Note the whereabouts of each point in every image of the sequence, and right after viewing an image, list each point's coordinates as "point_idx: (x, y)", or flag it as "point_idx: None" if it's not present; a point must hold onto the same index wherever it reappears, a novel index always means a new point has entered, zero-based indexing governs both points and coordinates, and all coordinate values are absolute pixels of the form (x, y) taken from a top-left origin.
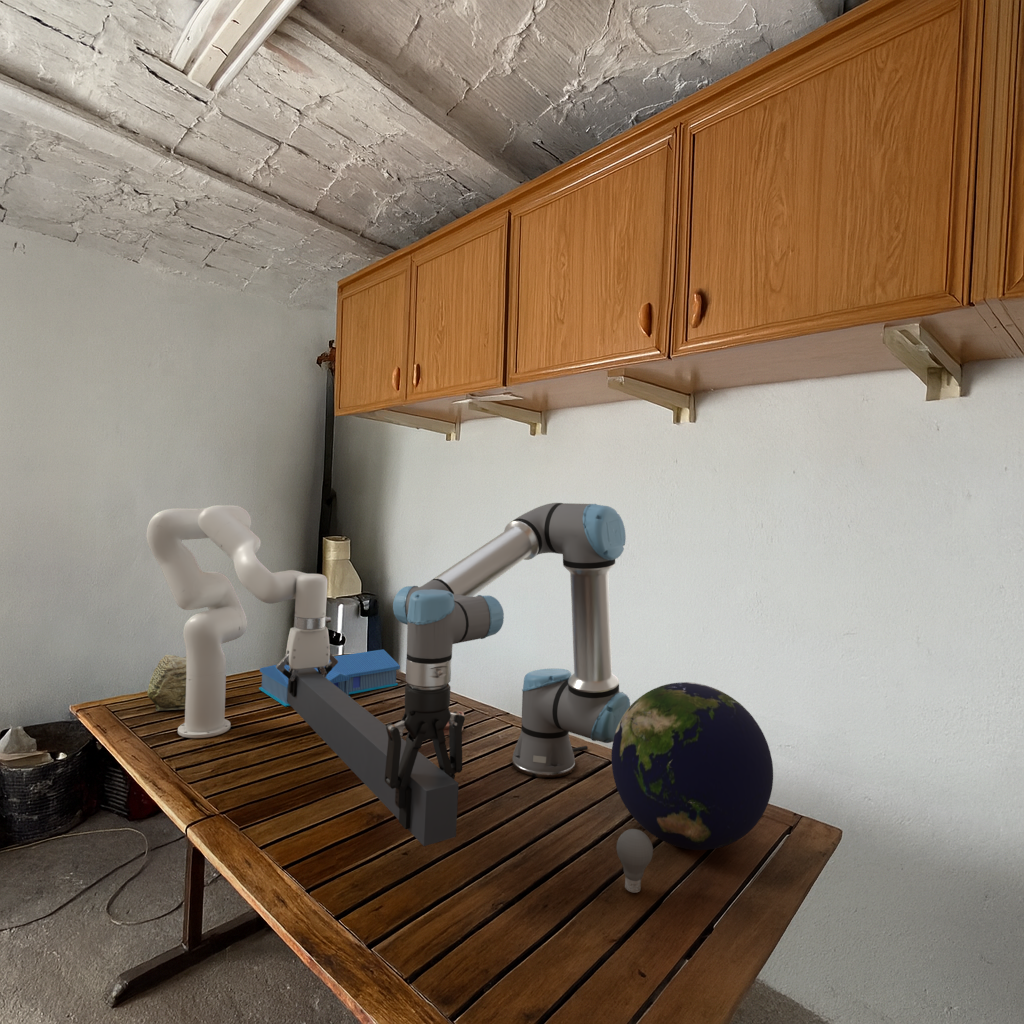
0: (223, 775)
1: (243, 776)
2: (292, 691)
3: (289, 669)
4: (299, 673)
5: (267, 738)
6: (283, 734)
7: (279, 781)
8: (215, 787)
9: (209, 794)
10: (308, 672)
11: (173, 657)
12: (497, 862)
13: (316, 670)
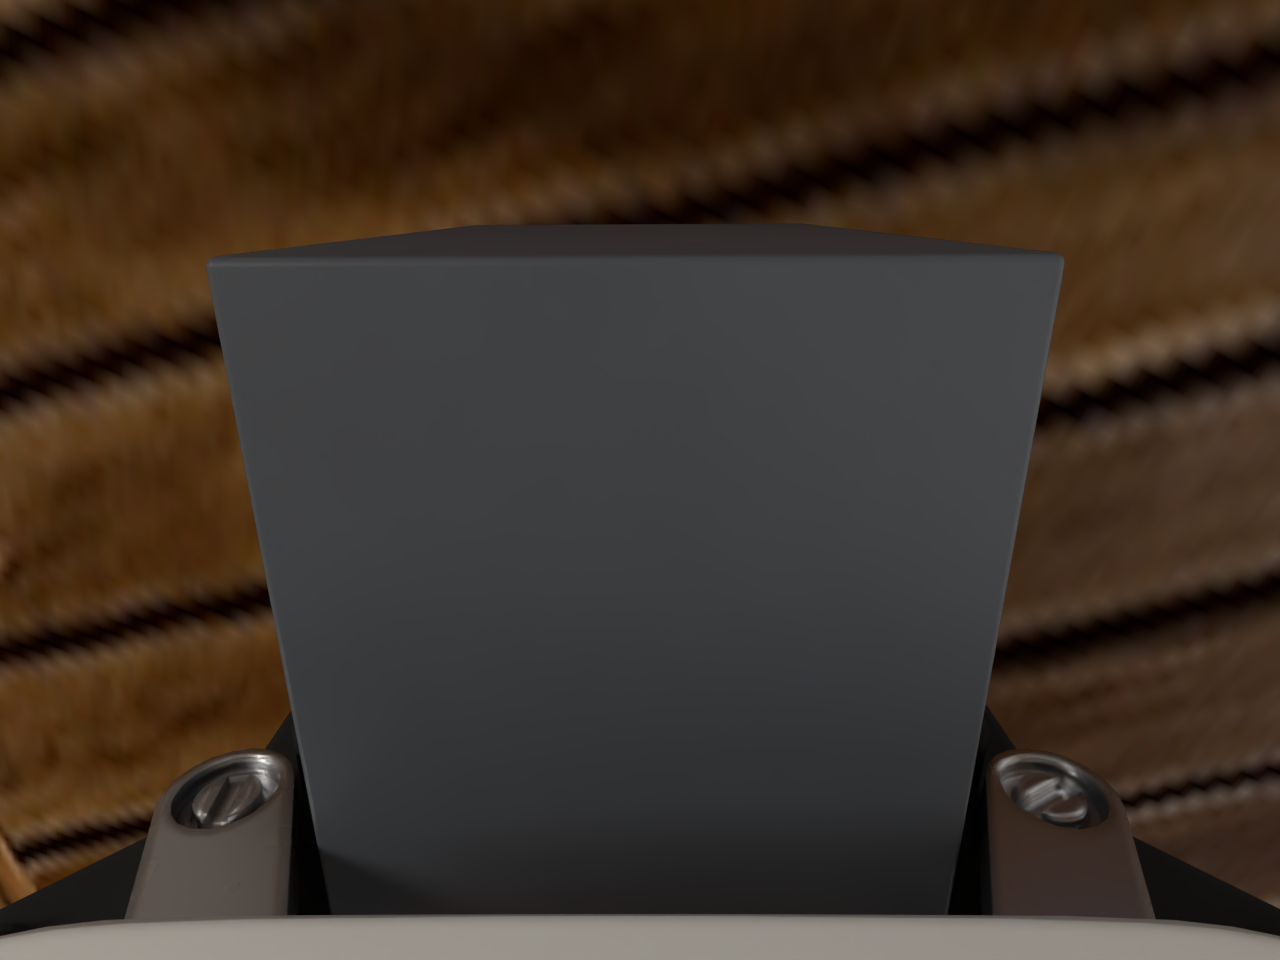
0: (83, 661)
1: (197, 720)
2: None
3: (228, 374)
4: (448, 899)
5: (399, 133)
6: (547, 96)
7: None
8: (53, 778)
9: (32, 834)
10: (693, 897)
11: None
12: None
13: (965, 807)
